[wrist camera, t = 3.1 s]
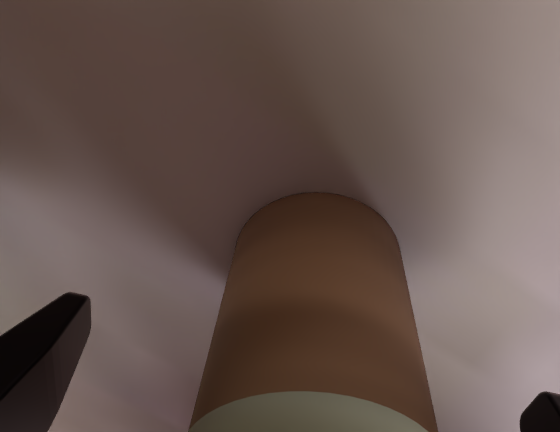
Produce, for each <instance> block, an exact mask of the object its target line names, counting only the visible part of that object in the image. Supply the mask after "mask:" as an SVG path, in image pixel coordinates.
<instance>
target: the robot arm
mask: <svg viewBox="0 0 560 432" xmlns="http://www.w3.org/2000/svg"><path fill="white" fill-rule="evenodd" d="M90 329H91V301H90V298H89V297H88V296H86V295H82V294H77V293H73V292H68V293H65V294H63V295H62V296H60V297H58V298H57V299H55V300H54V301H52V302H51V303H49V304H48V305H46V306H45V307H43V308H42V309H40V310H39V311H37V312H36V313H34V314H33V315H31V316H30V317H28V318H27V319H25V320H24V321H22V322H20V323H19V324H17V325H16V326H14V327H13V328H11V329H10V330H8V331H7V332H5V333H4V334H2V335H1V336H0V432H47V431H48V430H49V428H50V426H51V424H52V422H53V420H54V418H55V416H56V414H57V412H58V410H59V408H60V405H61V403H62V401H63V398H64V396H65V393H66V391H67V388H68V386H69V384H70V381H71V379H72V376H73V374H74V371H75V369H76V366H77V364H78V361H79V359H80V356H81V354H82V352H83V349H84V347H85V344H86V342H87V339H88V337H89V334H90ZM520 431H521V432H560V394H556V393H551V392H541V393H540V394H538V396H537V397H536V398H535V399H534V400H533V401H532V402H531V404H530V405H529V406H528V407H527V408H526V409H525V410H524V412H523V413H522V415H521V418H520Z"/></svg>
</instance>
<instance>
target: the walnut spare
mask: <svg viewBox="0 0 560 432" xmlns="http://www.w3.org/2000/svg"><path fill="white" fill-rule="evenodd" d="M188 432H438V429H437V424H436V419H435V414H434V409H433V405H432V400H431V395H430V390H429V386H428V381H427V376H426V371H425V367H424V362H423V357H422V352H421V347H420V343H419V338H418V333H417V328H416V324H415V319H414V314H413V309H412V305H411V300H410V295H409V290H408V285H407V281H406V276H405V271H404V266H403V262H402V257H401V252H400V247H399V244H398V241H397V238H396V236H395V234H394V232H393V230H392V229H391V227H390V226H389V225H388V223H387V222H386V221H385V220H384V219H383V218H382V217H381V216H380V215H379V214H378V213H377V212H375V211H374V210H373V209H371V208H370V207H368V206H366V205H365V204H363V203H361V202H359V201H356V200H354V199H351V198H348V197H345V196H341V195H337V194H331V193H319V192H313V193H301V194H296V195H291V196H287V197H284V198H281V199H279V200H276V201H274V202H272V203H270V204H268V205H267V206H265V207H263V208H262V209H260V210H259V211H258V212H257V213H255V214H254V215H253V216H252V217H251V218H250V219H249V220H248V222H247V223H246V224H245V226H244V227H243V229H242V231H241V233H240V235H239V237H238V240H237V244H236V247H235V251H234V255H233V259H232V263H231V267H230V271H229V275H228V279H227V282H226V286H225V290H224V294H223V298H222V302H221V306H220V310H219V314H218V318H217V322H216V325H215V329H214V333H213V337H212V341H211V345H210V349H209V353H208V357H207V361H206V365H205V369H204V372H203V376H202V380H201V384H200V388H199V392H198V396H197V400H196V404H195V408H194V412H193V415H192V419H191V423H190V427H189V431H188Z"/></svg>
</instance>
